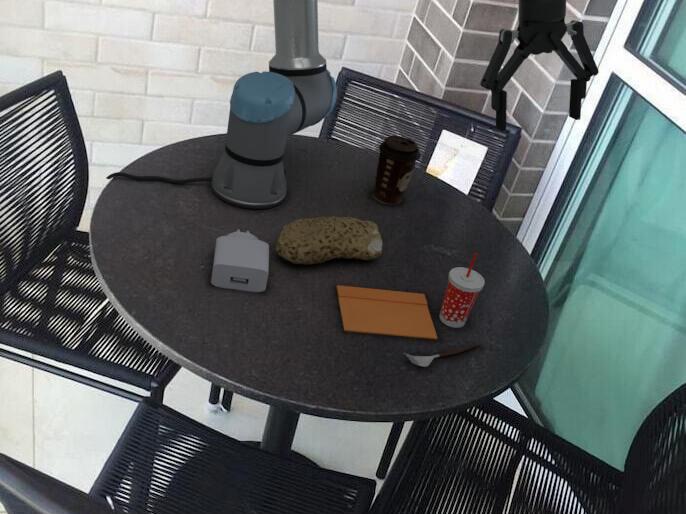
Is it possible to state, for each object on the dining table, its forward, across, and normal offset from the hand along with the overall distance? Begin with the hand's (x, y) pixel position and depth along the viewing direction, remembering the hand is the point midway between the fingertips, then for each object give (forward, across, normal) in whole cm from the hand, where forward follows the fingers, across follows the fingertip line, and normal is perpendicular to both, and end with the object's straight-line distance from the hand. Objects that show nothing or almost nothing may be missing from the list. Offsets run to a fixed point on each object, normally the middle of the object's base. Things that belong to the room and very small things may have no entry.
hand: (537, 123), depth 141 cm
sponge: (+22, -38, +6) cm, 44 cm away
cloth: (+27, -32, -10) cm, 42 cm away
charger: (+19, -54, +2) cm, 58 cm away
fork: (+31, -25, -20) cm, 45 cm away
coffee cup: (+21, -20, +30) cm, 41 cm away
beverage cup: (+30, -20, -11) cm, 37 cm away
